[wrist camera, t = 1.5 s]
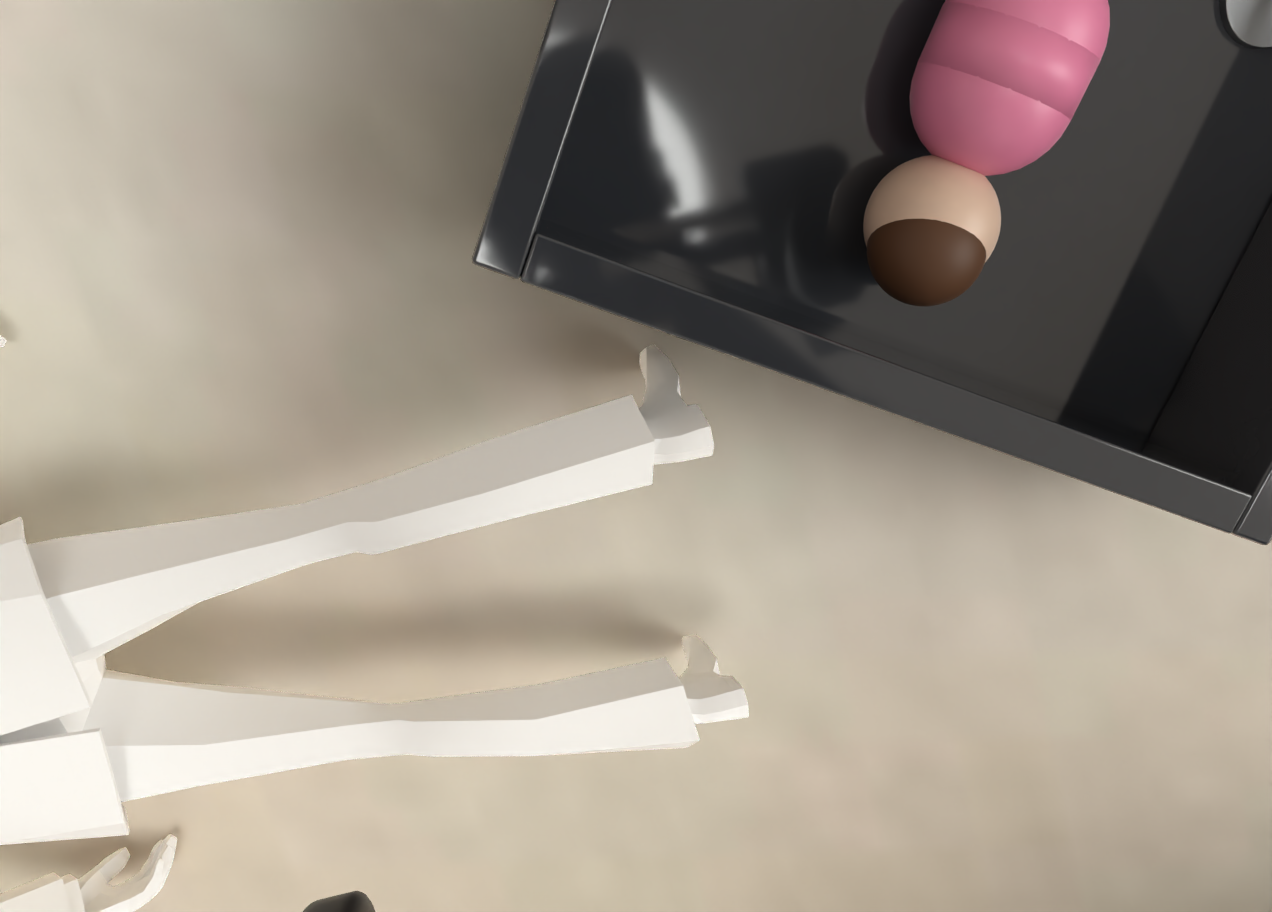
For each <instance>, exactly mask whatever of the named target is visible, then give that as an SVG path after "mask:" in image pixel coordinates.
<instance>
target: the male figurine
mask: <svg viewBox="0 0 1272 912" xmlns="http://www.w3.org/2000/svg"><path fill="white" fill-rule="evenodd" d="M5 343H6V339H5V338H4V337H3V336H1V335H0V347H4V345H5ZM639 364H640V368H641V371H642V375H643V377H644V378H645V380H646V382H645V393H644V397H643V400H642V404H641V407H640V408H638V406H637V404H636V402H635V400H634V398H633V396H632V394H631V395H628V396H625V397H622V398H619V399H616V400H612V401H609V402H606V403H603V404H600V405H597V406H594V407H590V408H587V409H584V410H581V411H578V412H575V413H571V414H568V415H565V416H562V417H559V418H556V419H553V420H549V421H546V422H543V423H540V424H537V425H534V426H531V427H527V428H524V429H521V430H518V431H515V432H512V433H509V434H505V435H502V436H499V437H496V438H493V439H490V440H487V441H484V442H481V443H478V444H476V445H473V446H470V447H467V448H465V449H462V450H459V451H457V452H454V453H451V454H448V455H446V456H443V457H440V458H438V459H435V460H432V461H429V462H427V463H424V464H421V465H418V466H416V467H413V468H410V469H408V470H405V471H402V472H399V473H397V474H394V475H391V476H389V477H385V478H382V479H379V480H376V481H372V482H369V483H366V484H363V485H359V486H356V487H353V488H350V489H346V490H343V491H340V492H337V493H333V494H330V495H327V496H324V497H321V498H317V499H314V500H311V501H308V502H305V503H301V504H295V505H288V506H282V507H275V508H268V509H261V510H254V511H248V512H241V513H234V514H227V515H220V516H214V517H207V518H200V519H193V520H186V521H180V522H173V523H166V524H159V525H152V526H146V527H138V528H131V529H123V530H115V531H108V532H100V533H93V534H85V535H77V536H70V537H62V538H56V539H51V540H46V541H42V542H37V543H32V544H26V541H25V534H24V525H23V521H22V518H21V516H20V517H17V518H15V519H13V520H10V521H8V522H6V523H4V524H1V525H0V845H6V844H19V843H32V842H45V841H58V840H71V839H84V838H97V837H110V836H123V835H129V824H128V817H127V812H126V808H125V807H124V806H123V805H122V804H121V802H125V801H130V800H135V799H139V798H144V797H149V796H154V795H159V794H164V793H168V792H173V791H178V790H183V789H188V788H192V787H198V786H203V785H209V784H215V783H220V782H226V781H231V780H237V779H243V778H248V777H254V776H260V775H265V774H271V773H276V772H282V771H288V770H293V769H299V768H304V767H310V766H316V765H321V764H327V763H333V762H338V761H344V760H353V759H363V758H374V757H385V756H396V755H418V756H429V757H479V756H545V755H564V754H582V753H601V752H619V751H638V750H656V749H675V748H687V747H689V746H691V745H693V744H694V743H696V742H698V741H700V739H699V736H698V733H697V729H696V726H695V724H701V723H710V722H717V721H726V720H735V719H741V718H745V717H749V709H748V701H747V698H746V695H745V692H744V688H743V687H742V686H741V685H740V684H739V683H738V682H737V681H736V680H735V678H734V677H733V676H720V673H719V668H718V662H717V658H716V656H715V655H714V654H713V652H712V651H711V649H710V648H709V647H708V645H707V644H706V643H705V642H704V641H703V640H702V639H701V638H700V637H699V636H698V635H697V634H696V635H687V636H684V637H682V647H683V650H684V653H685V656H686V659H687V661H688V668H687V669H686V670H685V671H684V673H683V674H682V675H681V676H680V677H679V678H678V677H677V675H676V673H675V672H674V670H673V669H672V667H671V666H670V664H669V663H668V661H667V659H666V658H665V657H664V658H659V659H655V660H650V661H645V662H641V663H636V664H631V665H627V666H622V667H617V668H613V669H608V670H603V671H599V672H594V673H589V674H585V675H580V676H576V677H571V678H566V679H562V680H557V681H552V682H548V683H543V684H537V685H530V686H522V687H515V688H507V689H500V690H492V691H485V692H477V693H470V694H462V695H455V696H448V697H440V698H433V699H425V700H418V701H410V702H403V703H395V704H385V703H378V702H371V701H363V700H354V699H345V698H337V697H328V696H319V695H310V694H301V693H292V692H284V691H275V690H266V689H257V688H248V687H238V686H225V685H212V684H199V683H186V682H174V681H168V680H162V679H157V678H151V677H146V676H140V675H135V674H129V673H124V672H118V671H113V670H107V669H106V663H105V655H104V654H105V653H107V652H109V651H111V650H113V649H115V648H117V647H119V646H120V645H122V644H124V643H126V642H128V641H130V640H132V639H134V638H136V637H137V636H139V635H141V634H143V633H145V632H147V631H149V630H151V629H152V628H154V627H156V626H158V625H160V624H161V623H163V622H165V621H167V620H169V619H170V618H172V617H174V616H176V615H178V614H179V613H181V612H183V611H185V610H187V609H188V608H190V607H192V606H194V605H195V604H197V603H199V602H202V601H205V600H207V599H210V598H213V597H216V596H219V595H222V594H225V593H227V592H230V591H233V590H236V589H239V588H242V587H245V586H247V585H250V584H253V583H256V582H259V581H262V580H264V579H267V578H270V577H273V576H276V575H279V574H282V573H284V572H287V571H290V570H293V569H296V568H299V567H302V566H304V565H307V564H311V563H315V562H319V561H323V560H327V559H331V558H335V557H339V556H343V555H347V554H351V553H355V552H360V553H365V554H370V555H375V554H379V553H383V552H387V551H390V550H394V549H398V548H402V547H406V546H409V545H413V544H417V543H421V542H425V541H428V540H432V539H436V538H440V537H444V536H448V535H451V534H455V533H459V532H463V531H467V530H470V529H474V528H478V527H482V526H486V525H489V524H493V523H497V522H501V521H505V520H509V519H513V518H518V517H522V516H526V515H530V514H534V513H538V512H542V511H546V510H550V509H554V508H558V507H562V506H566V505H570V504H574V503H579V502H583V501H587V500H591V499H595V498H599V497H603V496H607V495H611V494H615V493H619V492H623V491H627V490H631V489H636V488H640V487H644V486H648V485H652V482H653V465H655V464H666V463H675V462H684V461H688V460H693V459H698V458H702V457H708V456H713V450H714V441H713V436H712V432H711V427H710V425H709V423H708V421H707V419H706V418H705V416H704V414H703V412H702V411H701V409H700V407H699V405H698V404H695V405H686V404H685V402H684V401H683V399H682V398H681V393H680V383H679V374H678V373H677V371H676V369H675V368H674V366H673V365H672V363H671V361H670V360H669V358H668V357H667V356H666V355H665V354H664V353H663V352H662V351H661V350H660V349H659V348H658V347H657V346H656V345H654V344H653V345H651V346H648V347H646V348H645V349H644V350H643V351H642V352H641V353H640V359H639ZM176 844H177V837H176V836H174V835H172V834H169V835H168V836H167V837H166V838H165V839H164V840H161V839H160V840H159V841H158V842H157V843H156V844H155V846H154V847H153V849H152V851H151V854H150V856H149V858H148V860H147V861H146V862H145V864H144V865H143V867H142V868H141V869H140V871H139V872H138V873H137V874H136V875H134V876H133V877H131V878H129V879H128V880H126V881H125V882H123V883H121V884H119V885H116V886H114V887H112V886H111V885H109V884H108V882H109V881H110V880H111V879H112V878H113V877H115V876H116V875H117V874H118V873H119V872H120V871H121V870H123V869H124V867H125V865H126V863H127V862H128V860H129V858H130V857H131V856H130V854H129V852H128V850H127V848H126V847H124V848H121V849H119V850H117V851H116V852H114V853H112V854H111V855H109V856H107V857H106V858H104V859H103V860H102V861H101V862H100V863H99V864H98V865H97V866H95V867H94V868H93V869H91V870H90V871H89V872H87V873H86V874H85V875H83V876H82V877H81V878H80V879H77V878H75V877H74V876H72V875H71V874H67V875H65V876H62V877H60V876H58V875H57V874H56V873H54V872H52V873H50V874H47V875H45V876H42V877H40V878H37V879H35V880H33V881H30V882H28V883H25V884H23V885H20V886H18V887H15V888H13V889H10V890H8V891H5V892H3V893H0V912H135V911H136V910H137V909H139V908H140V907H142V906H143V905H145V904H146V903H148V902H149V901H151V900H152V898H153V897H155V896H156V895H157V894H158V893H159V891H160V890H161V889H162V888H163V886H164V883H165V881H166V879H167V876H168V874H169V871H170V869H171V866H172V864H173V861H174V856H175V850H176Z"/></svg>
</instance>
